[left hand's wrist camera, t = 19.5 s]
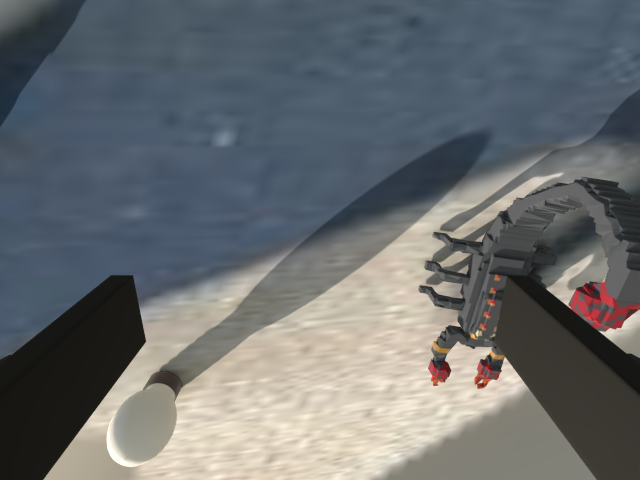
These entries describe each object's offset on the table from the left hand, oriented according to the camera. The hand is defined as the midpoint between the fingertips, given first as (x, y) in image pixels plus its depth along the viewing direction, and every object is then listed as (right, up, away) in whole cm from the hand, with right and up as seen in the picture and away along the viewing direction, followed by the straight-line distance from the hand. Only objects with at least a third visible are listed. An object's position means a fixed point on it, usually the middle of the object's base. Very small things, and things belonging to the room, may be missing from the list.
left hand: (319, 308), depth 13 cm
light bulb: (-20, -16, +34) cm, 43 cm away
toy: (+18, -2, +29) cm, 34 cm away
